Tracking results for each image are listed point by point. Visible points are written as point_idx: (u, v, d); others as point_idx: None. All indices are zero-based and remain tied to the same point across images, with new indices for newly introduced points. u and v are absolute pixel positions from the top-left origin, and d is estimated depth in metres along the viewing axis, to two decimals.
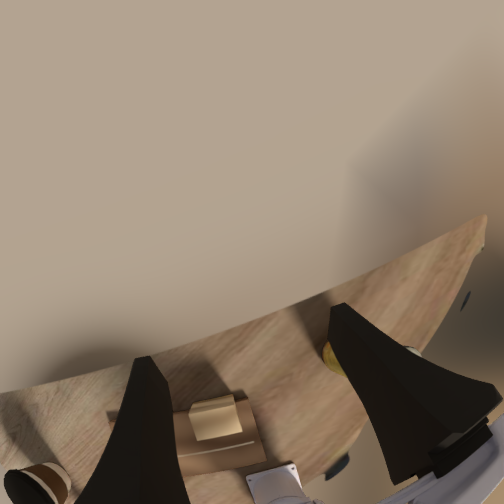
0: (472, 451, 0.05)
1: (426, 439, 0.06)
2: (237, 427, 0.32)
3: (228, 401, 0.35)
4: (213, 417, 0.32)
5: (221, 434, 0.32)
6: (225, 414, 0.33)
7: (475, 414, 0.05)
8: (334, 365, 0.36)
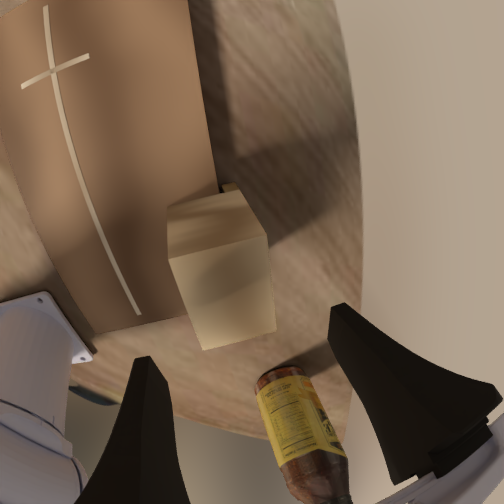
0: (472, 451, 0.05)
1: (426, 439, 0.06)
2: (216, 341, 0.14)
3: None
4: (250, 297, 0.13)
5: (195, 315, 0.13)
6: (254, 318, 0.14)
7: (475, 414, 0.05)
8: (294, 415, 0.24)
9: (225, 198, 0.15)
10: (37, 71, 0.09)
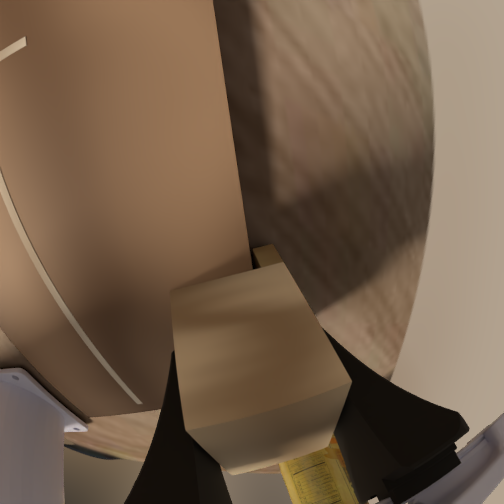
0: (435, 479, 0.05)
1: (379, 466, 0.05)
2: (250, 468, 0.09)
3: None
4: (305, 435, 0.08)
5: (226, 460, 0.08)
6: (304, 447, 0.09)
7: (431, 447, 0.04)
8: (320, 478, 0.18)
9: (264, 282, 0.09)
10: None
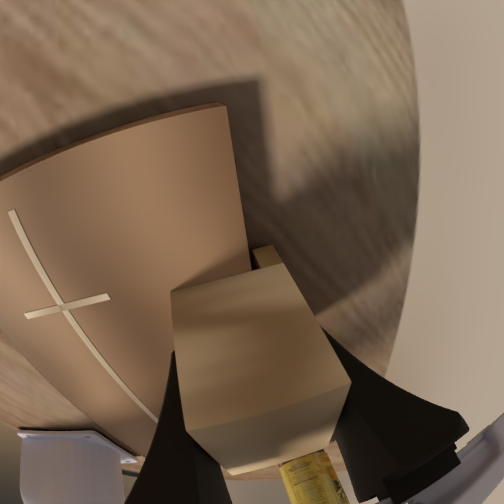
0: (435, 479, 0.05)
1: (379, 466, 0.05)
2: (251, 468, 0.09)
3: None
4: (305, 436, 0.08)
5: (226, 460, 0.08)
6: (304, 447, 0.09)
7: (431, 447, 0.04)
8: (314, 488, 0.23)
9: (264, 283, 0.09)
10: (40, 304, 0.08)
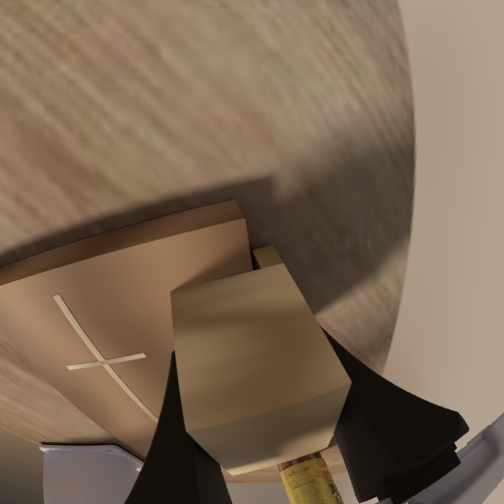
0: (435, 479, 0.05)
1: (379, 466, 0.05)
2: (250, 468, 0.09)
3: None
4: (305, 436, 0.08)
5: (226, 460, 0.08)
6: (304, 447, 0.09)
7: (431, 447, 0.04)
8: (312, 491, 0.25)
9: (265, 283, 0.09)
10: (83, 360, 0.10)
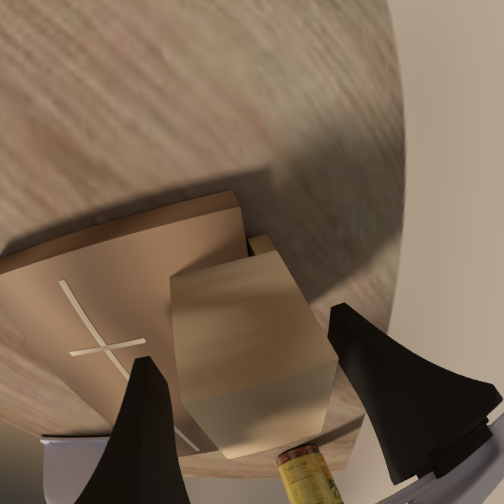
0: (472, 451, 0.05)
1: (426, 439, 0.06)
2: (246, 451, 0.10)
3: None
4: (297, 416, 0.08)
5: (221, 440, 0.08)
6: (297, 430, 0.09)
7: (475, 414, 0.05)
8: (310, 486, 0.26)
9: (258, 268, 0.10)
10: (85, 346, 0.11)
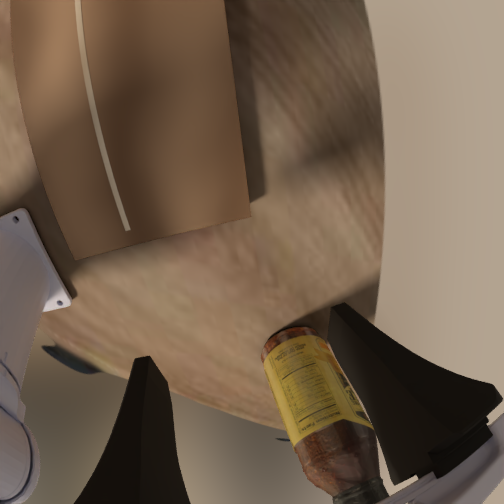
0: (472, 451, 0.05)
1: (426, 439, 0.06)
2: None
3: None
4: None
5: None
6: None
7: (475, 414, 0.05)
8: (311, 379, 0.20)
9: None
10: None
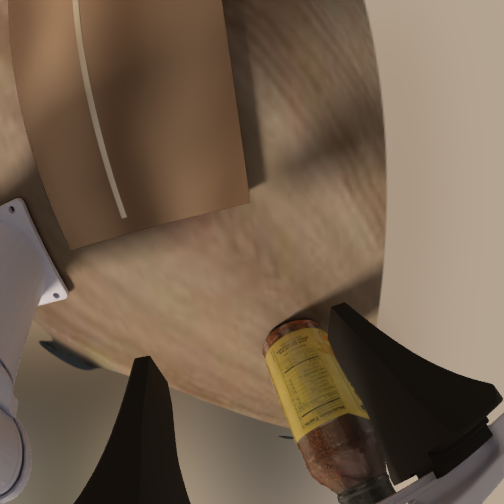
0: (472, 451, 0.05)
1: (426, 439, 0.06)
2: None
3: None
4: None
5: None
6: None
7: (475, 414, 0.05)
8: (314, 373, 0.20)
9: None
10: None
